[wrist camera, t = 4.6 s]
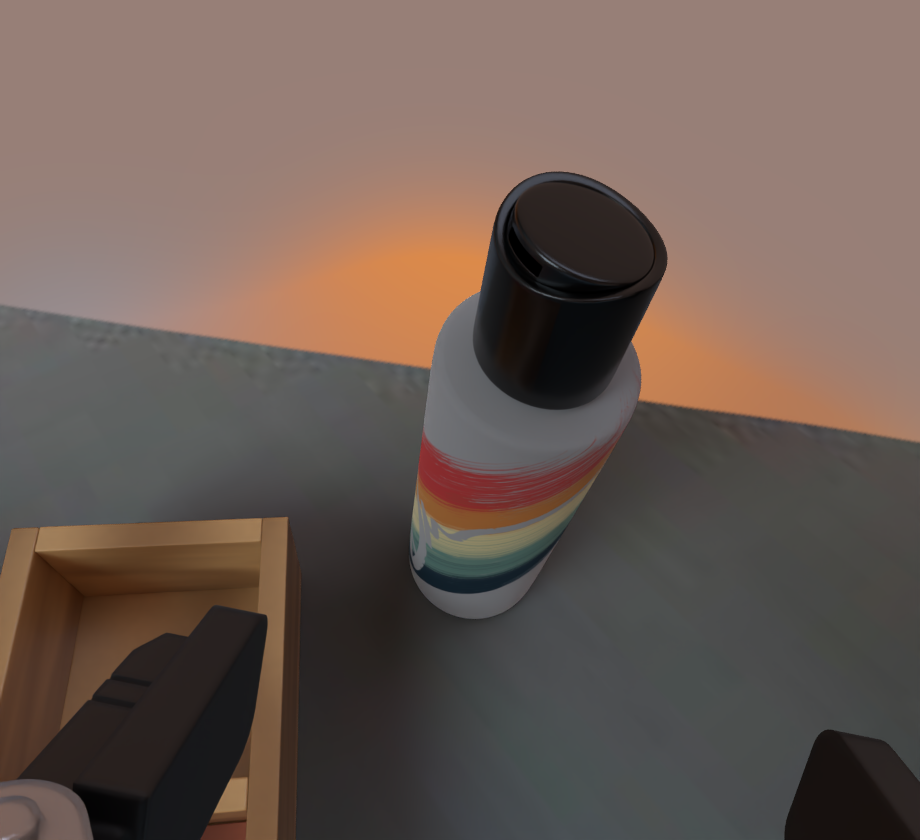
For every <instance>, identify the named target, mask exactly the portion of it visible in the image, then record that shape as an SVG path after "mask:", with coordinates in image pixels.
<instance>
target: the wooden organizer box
mask: <svg viewBox="0 0 920 840" xmlns="http://www.w3.org/2000/svg"><path fill="white" fill-rule="evenodd" d="M214 605H220V606H225V607H230V608H235V609H240V610H245V611H250V612H255V613H260V614H265V615H267V618H268V628H267V636H266V642H265V649H264V655H263V662H262V669H261V675H260V682H259V689H258V695H257V702H256V708H255V714H254V719H253V723H252V727H251V730H250V734H249V737H248V740H247V743H246V746H245V749H244V751H243V754H242V756H241V758H240V760H239V762H238V764H237V766H236V768H235V770H234V772H233V774H232V777H231V779H230V781H229V783H228V785H227V787H226V789H225V791H224V793H223V795H222V797H221V799H220V801H219V803H218V805H217V807H216V809H215V811H214V813H213V815H212V817H211V819H210V821H209V823H208V825H207V827H206V829H205V831H204V833H203V835H202V837H201V839H200V840H296V800H297V754H298V709H299V663H300V618H301V570H300V565H299V561H298V556H297V552H296V548H295V544H294V540H293V535H292V531H291V527H290V523H289V519H288V517H274V518H263V520H262V518H253V519H228V520H203V521H179V522H154V523H129V524H104V525H80V526H55V527H40V528H38V527H37V528H14V529H12V531H11V535H10V539H9V543H8V547H7V551H6V555H5V559H4V564H3V568H2V572H1V576H0V782H5V781H10V780H16V779H17V778H18V777H19V776H20V775H21V773H22V772H23V771H24V770H25V769H26V768H27V767H28V766H29V765H30V764H31V762H32V761H33V760H34V759H35V758H36V757H37V756H38V755H39V754H40V752H41V751H42V750H43V749H44V748H45V747H46V746H47V745H48V744H49V742H50V741H51V740H52V739H53V738H54V737H55V736H56V735H57V734H58V732H59V731H60V730H61V729H62V728H63V727H64V726H65V725H66V724H67V723H68V721H69V720H70V719H71V718H72V717H73V716H74V715H75V714H76V713H77V711H78V710H79V709H80V708H81V707H82V706H83V705H84V704H85V703H86V701H87V700H91V699H92V696H93V694H94V693H95V691H96V690H97V689H98V688H99V687H100V686H101V685H102V684H103V683H104V682H105V680H106V679H110V677H111V674H112V673H113V672H114V670H115V669H116V668H117V667H118V666H119V665H120V664H121V663H122V662H123V660H124V659H125V658H126V657H127V656H128V655H129V654H130V653H131V652H132V650H134V649H136V648H137V647H139V646H141V645H143V644H145V643H147V642H149V641H151V640H153V639H155V638H157V637H159V636H160V635H162V634H164V633H166V632H167V633H172V634H177V635H182V636H187V637H188V636H189V635H190V634H191V633H192V631H193V630H194V629H195V627H196V626H197V625H198V624H199V622H200V621H201V620H202V619H203V617H204V616H205V615H206V614H207V612H208V611H209V610H210V609H211V607H212V606H214Z"/></svg>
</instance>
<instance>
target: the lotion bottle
mask: <svg viewBox="0 0 920 840" xmlns="http://www.w3.org/2000/svg"><path fill="white" fill-rule="evenodd" d="M666 266H667V251H666V247H665V245H664V242H663V240H662V238H661V236H660V235H659V233H658V231H657V230H656V228H655V227H654V226H653V224H652V223H651V222H650V221H649V220H648V219H647V217H646V216H645V215H644V214H643V213H642V212H641V211H640V210H639V209H638V208H637V207H636V206H634V205H633V204H632V203H631V202H630V201H628V200H627V199H626V198H625V197H623V196H622V195H621V194H619V193H618V192H616V191H615V190H613V189H612V188H610V187H608V186H606V185H604V184H603V183H600V182H598V181H596V180H594V179H592V178H589V177H586V176H583V175H579V174H575V173H569V172H546V173H541V174H538V175H535V176H532V177H530V178H528V179H526V180H524V181H522V182H521V183H519V184H518V185H517V186H516V187H514V188H513V189H512V190H511V192H510V193H509V194H508V195H507V196H506V198H505V199H504V201H503V202H502V204H501V206H500V208H499V210H498V212H497V215H496V219H495V222H494V226H493V231H492V236H491V241H490V246H489V251H488V257H487V262H486V266H485V271H484V276H483V281H482V286H481V291H480V292H478V293H476V294H474V295H472V296H471V297H469V298H468V299H466V300H465V301H463V302H462V303H461V304H460V305H459V306H457V307H456V308H455V309H454V310H453V312H452V313H451V314H450V315H449V317H448V318H447V320H446V321H445V323H444V324H443V327H442V329H441V331H440V333H439V335H438V338H437V341H436V345H435V350H434V355H433V360H432V366H431V373H430V380H429V388H428V396H427V404H426V412H425V420H424V427H423V435H422V443H421V451H420V459H419V467H418V475H417V483H416V491H415V499H414V507H413V515H412V523H411V532H410V542H409V560H410V567H411V571H412V574H413V577H414V579H415V582H416V584H417V585H418V587H419V589H420V590H421V592H422V593H423V594H424V596H425V597H426V598H427V599H428V600H429V601H430V602H431V603H432V604H434V605H435V606H436V607H438V608H439V609H441V610H442V611H444V612H446V613H449V614H451V615H454V616H457V617H461V618H467V619H482V618H488V617H492V616H495V615H498V614H500V613H503V612H505V611H506V610H508V609H510V608H511V607H512V606H514V605H515V604H516V603H517V602H518V601H519V600H520V599H521V598H522V597H523V596H524V595H525V593H526V592H527V591H528V589H529V588H530V586H531V585H532V583H533V582H534V580H535V579H536V577H537V576H538V574H539V572H540V571H541V569H542V567H543V566H544V564H545V562H546V561H547V559H548V557H549V556H550V554H551V552H552V551H553V549H554V547H555V546H556V544H557V542H558V541H559V539H560V537H561V536H562V534H563V532H564V531H565V529H566V527H567V526H568V524H569V522H570V521H571V519H572V517H573V516H574V514H575V512H576V511H577V509H578V507H579V506H580V504H581V502H582V501H583V499H584V497H585V496H586V494H587V492H588V491H589V489H590V487H591V485H592V484H593V482H594V480H595V479H596V477H597V475H598V474H599V472H600V470H601V469H602V467H603V465H604V464H605V462H606V460H607V459H608V457H609V455H610V454H611V452H612V450H613V449H614V447H615V445H616V444H617V442H618V440H619V438H620V437H621V435H622V433H623V431H624V430H625V428H626V426H627V424H628V422H629V421H630V419H631V417H632V415H633V413H634V410H635V408H636V405H637V402H638V398H639V394H640V388H641V369H640V364H639V360H638V357H637V353H636V351H635V348H634V346H633V344H632V342H631V340H632V338H633V336H634V334H635V332H636V330H637V328H638V326H639V324H640V322H641V320H642V318H643V316H644V314H645V312H646V310H647V308H648V306H649V304H650V302H651V300H652V298H653V296H654V294H655V292H656V290H657V288H658V286H659V284H660V281H661V280H662V277H663V275H664V272H665V270H666Z"/></svg>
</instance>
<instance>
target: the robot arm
mask: <svg viewBox="0 0 920 840" xmlns="http://www.w3.org/2000/svg"><path fill="white" fill-rule="evenodd" d="M267 628H268V618H267V615H265V614H260V613H255V612H250V611H245V610H240V609H235V608H230V607H225V606H220V605H214V606H212V607H211V609H210V610H209V611H208V612H207V614H206V615H205V616H204V617H203V619H202V620H201V621H200V622H199V624H198V625H197V626H196V627H195V629H194V630H193V631H192V633H191V634H190V635H189V636H188V637H187V636H182V635H177V634H172V633H167V632H166V633H164V634H162V635H160V636H159V637H157V638H155V639H153V640H151V641H149V642H147V643H145V644H143V645H141V646H139V647H137V648H136V649H134V650H132V652H131V653H130V654H129V655H128V656H127V657H126V658H125V659H124V660H123V662H122V663H121V664H120V665H119V666H118V667H117V668H116V669H115V670H114V672H113V673H112V674H111V677H110V679H106V680H105V682H104V683H103V684H102V685H101V686H100V687H99V688H98V689H97V690H96V691H95V693H94V694H93V696H92V699H91V700H87V701H86V703H85V704H84V705H83V706H82V707H81V708H80V709H79V710H78V711H77V713H76V714H75V715H74V716H73V717H72V718H71V719H70V720H69V721H68V723H67V724H66V725H65V726H64V727H63V728H62V729H61V730H60V731H59V732H58V734H57V735H56V736H55V737H54V738H53V739H52V740H51V741H50V742H49V744H48V745H47V746H46V747H45V748H44V749H43V750H42V751H41V752H40V754H39V755H38V756H37V757H36V758H35V759H34V760H33V761H32V762H31V764H30V765H29V766H28V767H27V768H26V769H25V770H24V771H23V772H22V773H21V775H20V776H19V777H18V778H17V779H16V780H10V781H5V782H0V840H200V839H201V837H202V835H203V833H204V831H205V829H206V827H207V825H208V823H209V821H210V819H211V817H212V815H213V813H214V811H215V809H216V807H217V805H218V803H219V801H220V799H221V797H222V795H223V793H224V791H225V789H226V787H227V785H228V783H229V781H230V779H231V777H232V774H233V772H234V770H235V768H236V766H237V764H238V762H239V760H240V758H241V756H242V754H243V751H244V749H245V746H246V743H247V740H248V737H249V734H250V730H251V727H252V723H253V719H254V714H255V708H256V702H257V695H258V689H259V682H260V675H261V669H262V662H263V655H264V649H265V642H266V636H267ZM785 840H920V782H919V781H918V779H917V778H916V777H915V776H914V774H913V773H912V772H911V771H910V770H909V768H908V767H907V766H906V765H905V763H904V762H903V761H902V760H901V759H900V757H899V756H898V755H897V754H896V752H895V751H894V750H893V749H892V748H891V747H890V745H889V744H887V743H886V742H884V741H882V740H879V739H874V738H869V737H864V736H859V735H854V734H849V733H844V732H839V731H834V730H825V731H823V732H821V733H820V734H819V735H818V737H817V738H816V740H815V742H814V745H813V747H812V750H811V753H810V756H809V758H808V761H807V764H806V767H805V769H804V772H803V775H802V778H801V780H800V783H799V786H798V789H797V792H796V794H795V797H794V800H793V803H792V805H791V808H790V811H789V814H788V817H787V820H786V825H785Z"/></svg>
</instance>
